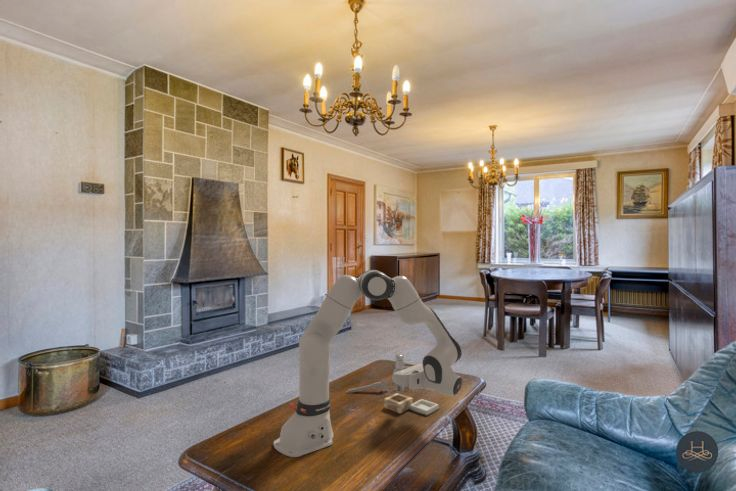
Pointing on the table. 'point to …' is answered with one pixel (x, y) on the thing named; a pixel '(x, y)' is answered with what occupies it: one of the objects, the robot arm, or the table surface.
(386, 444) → the table surface
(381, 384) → the caliper
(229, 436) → the table surface
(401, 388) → the grey rounded cylinder
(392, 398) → the bore block
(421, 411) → the tray
